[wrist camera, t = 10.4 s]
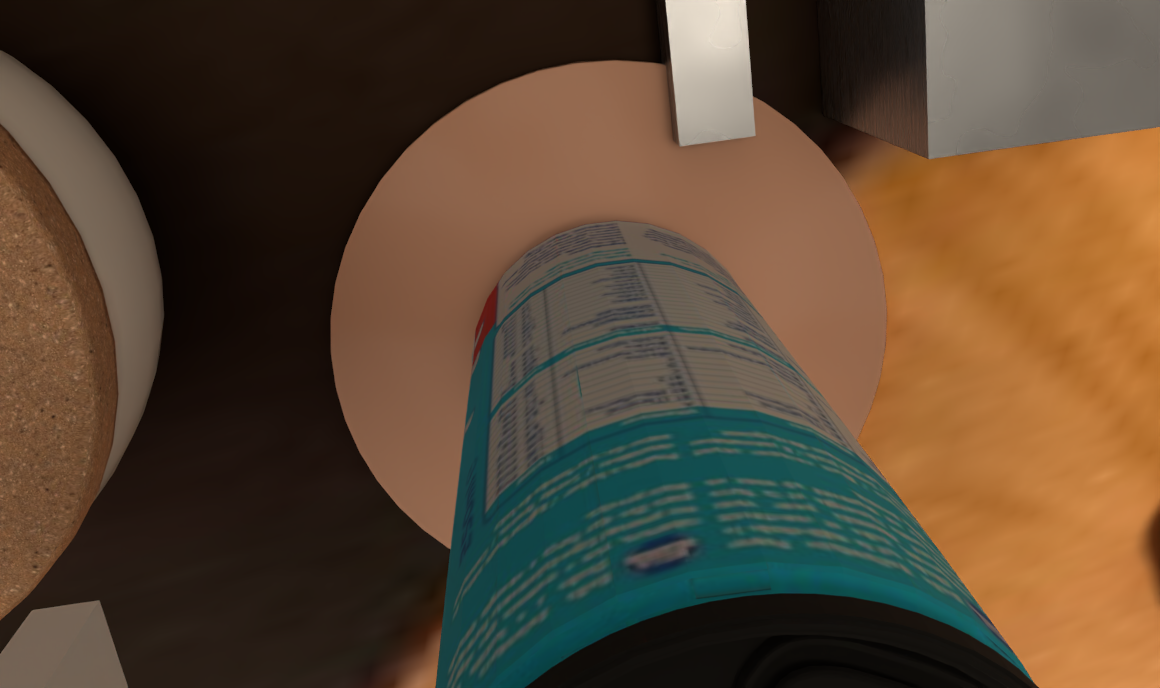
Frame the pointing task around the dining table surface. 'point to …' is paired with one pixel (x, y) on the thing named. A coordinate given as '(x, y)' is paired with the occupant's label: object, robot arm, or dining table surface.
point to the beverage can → (679, 498)
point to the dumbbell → (932, 70)
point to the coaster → (564, 201)
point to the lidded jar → (65, 323)
